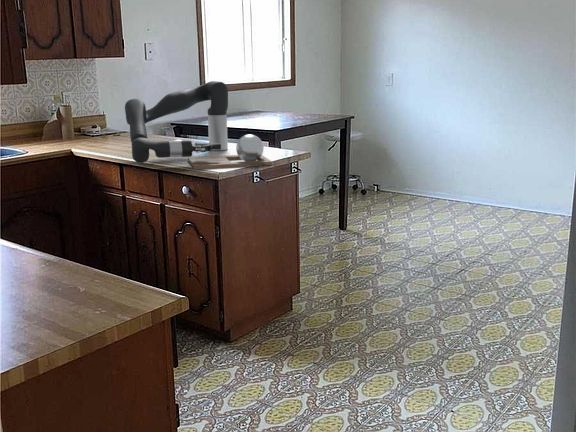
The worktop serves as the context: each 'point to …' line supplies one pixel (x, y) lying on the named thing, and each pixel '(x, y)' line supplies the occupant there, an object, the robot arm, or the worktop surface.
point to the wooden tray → (225, 162)
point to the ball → (249, 148)
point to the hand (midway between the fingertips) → (220, 146)
